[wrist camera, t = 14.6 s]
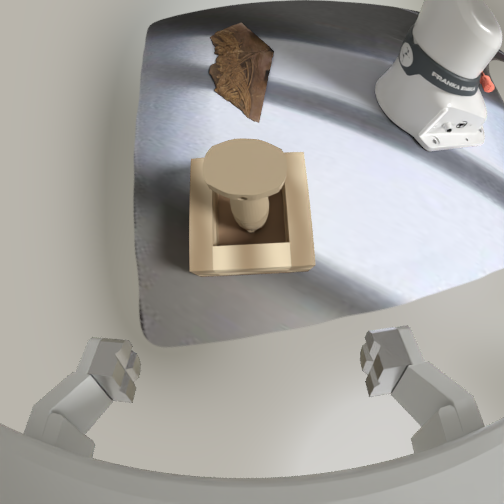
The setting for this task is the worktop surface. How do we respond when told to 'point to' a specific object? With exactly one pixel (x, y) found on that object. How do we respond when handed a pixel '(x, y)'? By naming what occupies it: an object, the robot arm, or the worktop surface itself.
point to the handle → (246, 177)
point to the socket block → (262, 240)
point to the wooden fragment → (241, 68)
